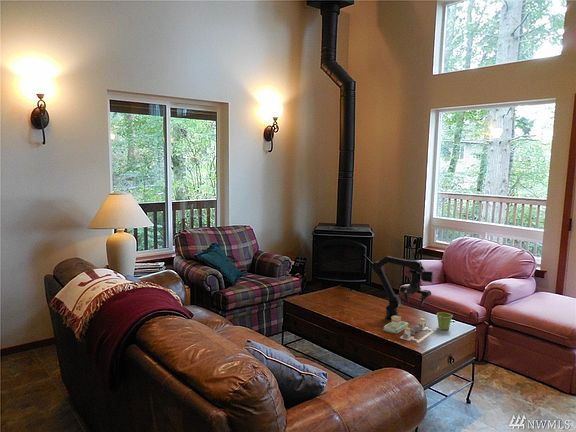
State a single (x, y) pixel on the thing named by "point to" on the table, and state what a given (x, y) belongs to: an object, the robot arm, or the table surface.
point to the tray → (395, 331)
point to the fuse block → (417, 328)
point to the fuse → (396, 322)
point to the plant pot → (444, 320)
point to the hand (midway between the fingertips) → (414, 304)
